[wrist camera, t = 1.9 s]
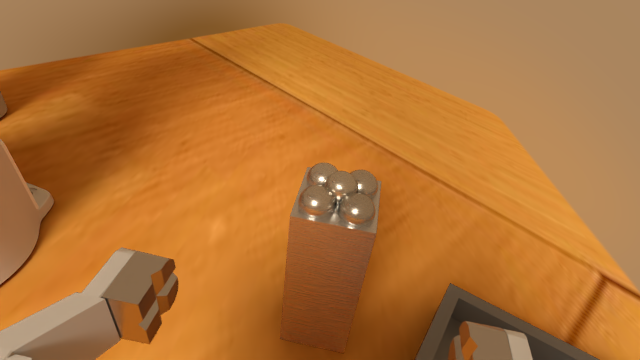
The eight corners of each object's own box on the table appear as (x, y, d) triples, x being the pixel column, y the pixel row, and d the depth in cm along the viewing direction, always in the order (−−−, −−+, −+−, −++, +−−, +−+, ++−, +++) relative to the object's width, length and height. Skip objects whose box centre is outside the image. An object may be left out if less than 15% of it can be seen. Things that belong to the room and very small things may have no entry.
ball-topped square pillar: (280, 338, 30) (292, 191, 21) (294, 287, 34) (310, 144, 25) (343, 353, 30) (382, 209, 21) (351, 299, 34) (386, 159, 25)
